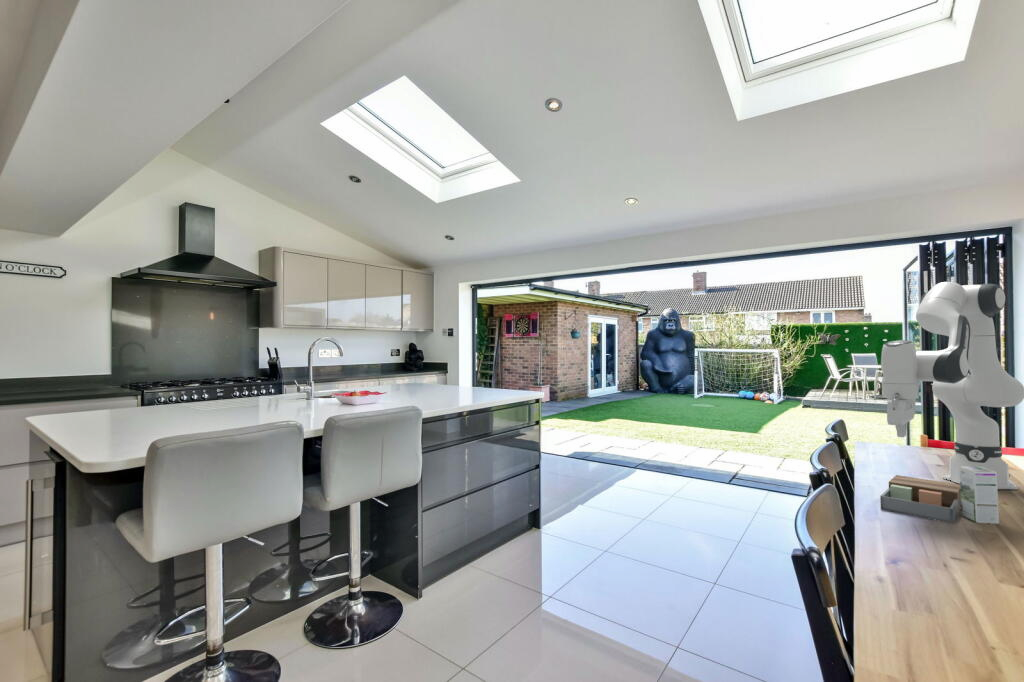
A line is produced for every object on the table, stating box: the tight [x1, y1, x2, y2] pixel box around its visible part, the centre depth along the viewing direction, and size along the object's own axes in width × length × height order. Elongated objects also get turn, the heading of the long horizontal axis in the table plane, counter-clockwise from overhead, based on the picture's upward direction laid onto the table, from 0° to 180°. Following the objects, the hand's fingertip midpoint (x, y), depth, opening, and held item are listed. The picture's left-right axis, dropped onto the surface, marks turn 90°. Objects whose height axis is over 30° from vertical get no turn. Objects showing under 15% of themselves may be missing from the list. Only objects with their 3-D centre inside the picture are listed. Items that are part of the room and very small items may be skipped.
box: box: [880, 487, 959, 524], centre depth 139 cm, size 12×16×4 cm
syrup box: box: [959, 466, 1000, 525], centre depth 132 cm, size 6×6×14 cm
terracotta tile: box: [919, 489, 942, 506], centre depth 140 cm, size 5×5×2 cm
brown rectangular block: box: [888, 474, 961, 513], centre depth 147 cm, size 12×16×6 cm
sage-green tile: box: [890, 484, 913, 501], centre depth 146 cm, size 5×5×2 cm
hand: (901, 436), depth 146 cm, fingers closed
